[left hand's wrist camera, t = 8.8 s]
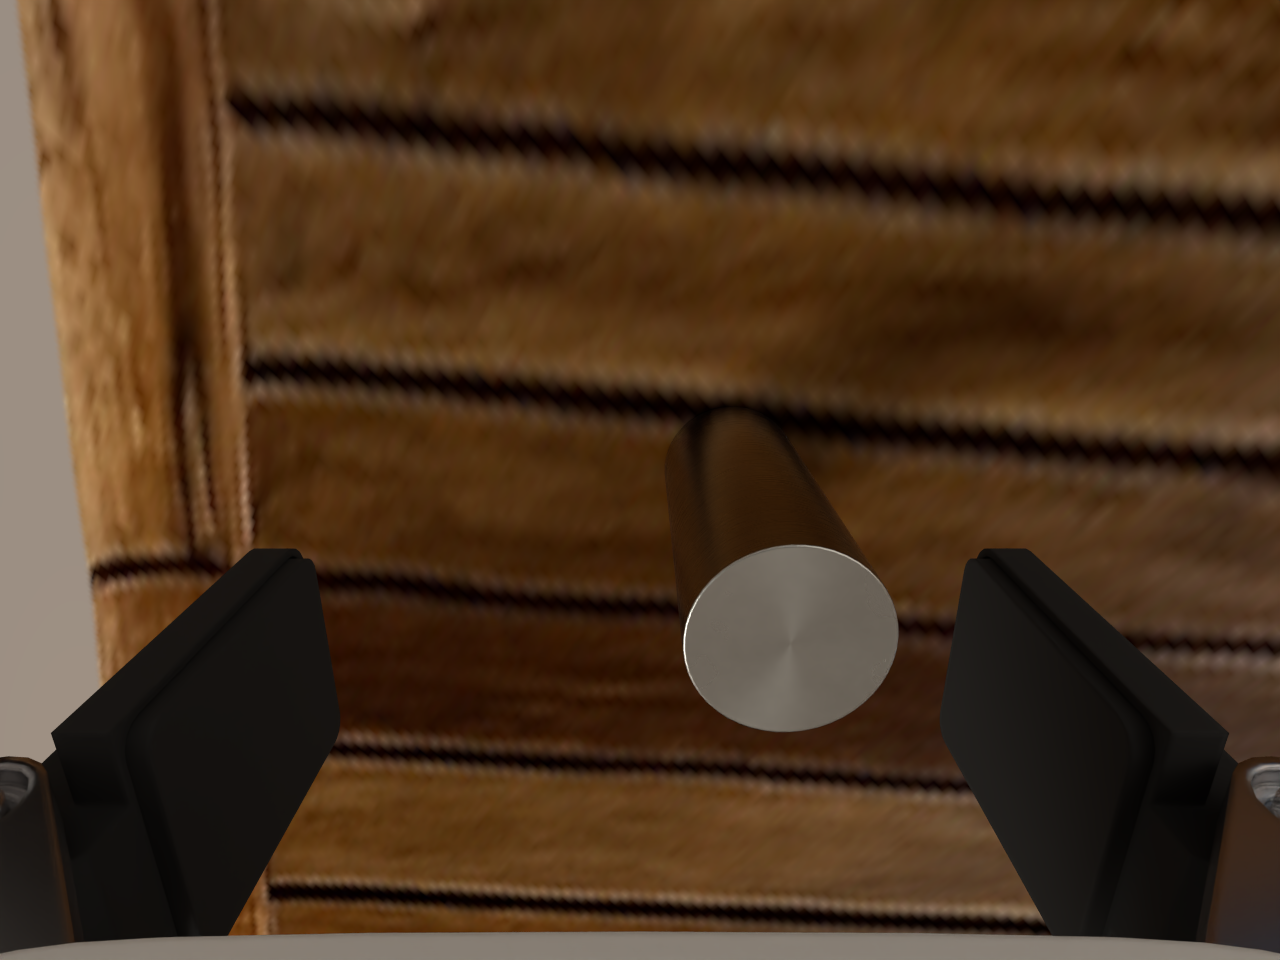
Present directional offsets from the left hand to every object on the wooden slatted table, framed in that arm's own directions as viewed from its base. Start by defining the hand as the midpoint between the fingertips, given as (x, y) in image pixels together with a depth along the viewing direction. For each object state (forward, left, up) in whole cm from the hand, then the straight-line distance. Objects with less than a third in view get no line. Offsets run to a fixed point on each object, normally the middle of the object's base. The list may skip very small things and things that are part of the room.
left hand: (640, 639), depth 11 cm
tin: (+2, +5, -18) cm, 19 cm away
